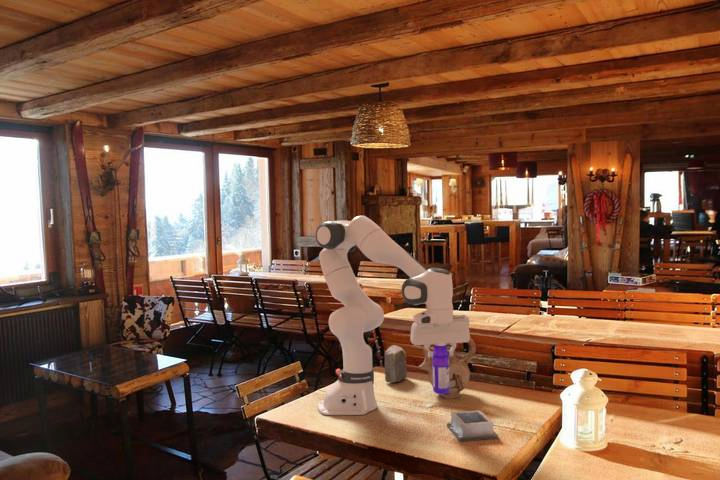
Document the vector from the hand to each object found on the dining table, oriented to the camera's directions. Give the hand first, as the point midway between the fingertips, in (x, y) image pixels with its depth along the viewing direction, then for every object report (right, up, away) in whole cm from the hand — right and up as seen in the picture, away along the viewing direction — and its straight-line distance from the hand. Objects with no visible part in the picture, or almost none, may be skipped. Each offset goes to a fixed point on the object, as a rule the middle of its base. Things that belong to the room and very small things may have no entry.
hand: (440, 356), depth 188 cm
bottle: (0, -12, 0) cm, 12 cm away
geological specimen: (-12, -22, +54) cm, 59 cm away
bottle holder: (+10, -25, -3) cm, 27 cm away
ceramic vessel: (+8, -23, +35) cm, 42 cm away
